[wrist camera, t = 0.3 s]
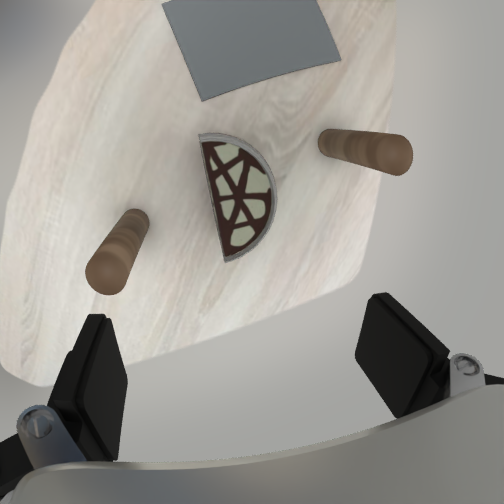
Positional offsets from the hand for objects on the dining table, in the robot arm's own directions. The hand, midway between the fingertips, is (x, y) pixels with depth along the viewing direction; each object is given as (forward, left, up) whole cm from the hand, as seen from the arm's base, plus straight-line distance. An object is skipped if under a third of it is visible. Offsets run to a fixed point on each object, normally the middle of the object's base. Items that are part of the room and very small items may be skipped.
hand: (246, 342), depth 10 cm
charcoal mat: (-12, -17, -27) cm, 34 cm away
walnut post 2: (-16, 0, -27) cm, 32 cm away
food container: (-3, 0, -28) cm, 28 cm away
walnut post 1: (+10, 0, -27) cm, 29 cm away
